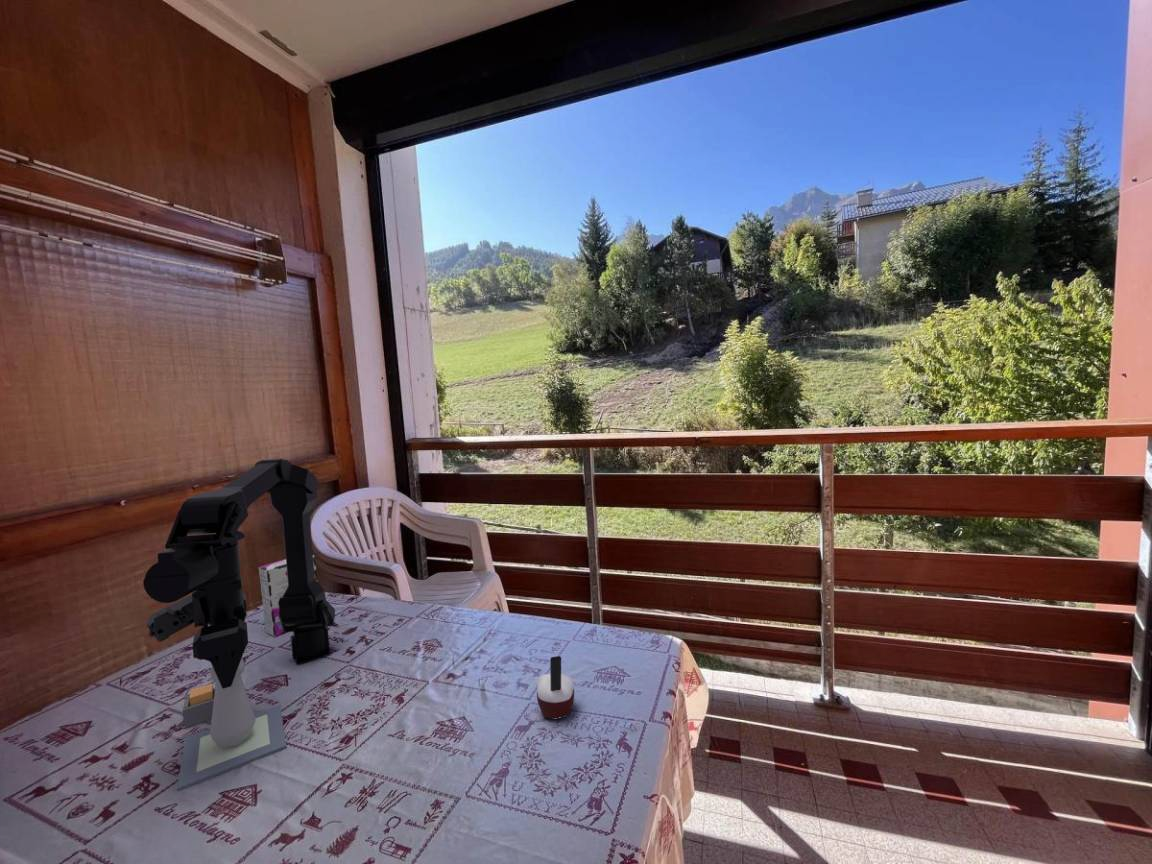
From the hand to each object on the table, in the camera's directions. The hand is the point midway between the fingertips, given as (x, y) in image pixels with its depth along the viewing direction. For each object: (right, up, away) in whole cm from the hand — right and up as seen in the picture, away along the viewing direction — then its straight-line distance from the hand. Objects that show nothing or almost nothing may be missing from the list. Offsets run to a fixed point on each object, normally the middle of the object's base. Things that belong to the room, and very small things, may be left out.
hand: (227, 673), depth 74 cm
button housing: (-10, -12, +8) cm, 18 cm away
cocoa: (+51, -9, +4) cm, 52 cm away
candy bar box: (-15, -10, +42) cm, 46 cm away
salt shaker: (+1, -11, +1) cm, 11 cm away
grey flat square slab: (+1, -12, +1) cm, 12 cm away
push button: (-10, -10, +8) cm, 16 cm away
